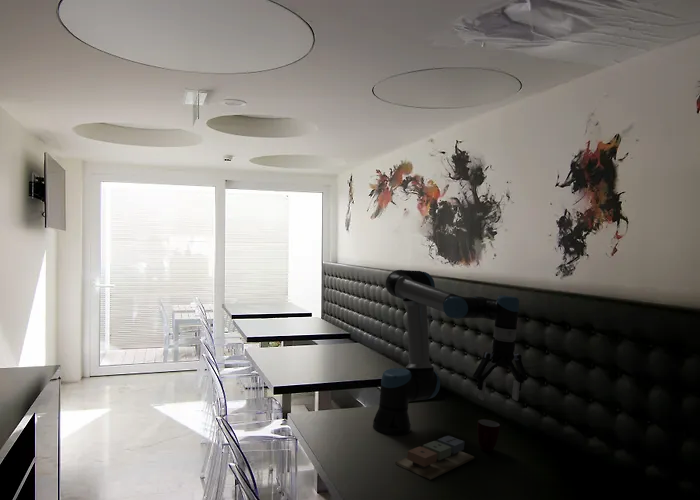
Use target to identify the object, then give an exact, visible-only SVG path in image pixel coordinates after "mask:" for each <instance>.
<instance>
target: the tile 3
mask: <svg viewBox="0 0 700 500" xmlns="http://www.w3.org/2000/svg"><path fill="white" fill-rule="evenodd" d="M436 441H437V442H439V443H442V444H445V445H447V446H450V447H451V453H453V454H455V453H457V452H459V451H464V450H465V440H461V439H459V438H456V437H453V436H452V435H444V436H443V437H440V438H437V440H436Z"/></svg>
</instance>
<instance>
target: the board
mask: <svg viewBox="0 0 700 500" xmlns="http://www.w3.org/2000/svg"><path fill="white" fill-rule="evenodd" d="M474 459H475V456H474V455H471V454H470V453H466V452H464V451H463V450H461V451H459V452H457V453H455V454H453V453H451V455H450V456H448V457H446V458H443V459H441V460H438V459H437V461H436V462H434V463H432V464H430V465H428V466H425V467H424V466H421V465H419V464H417V463H415V462H412V461H410V460H408V459H407V456H406V457H404V458H401V459H399V460H396V461H395V465H397V466H399V467H400V468H402V469H403V468H404V469H405V470H408V471H410V472H411V473H414V474H417V475H419V476H421V477H423V478H425V479H428V480H429V481H431V480H434V479H435V478H438V477H440V476H441V475H443V474H445V473H448V472H450V471H452V470H453V469H456V468H457V467H460V466H462V465H464V464H466V463H468V462H471V461H472V460H474Z"/></svg>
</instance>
